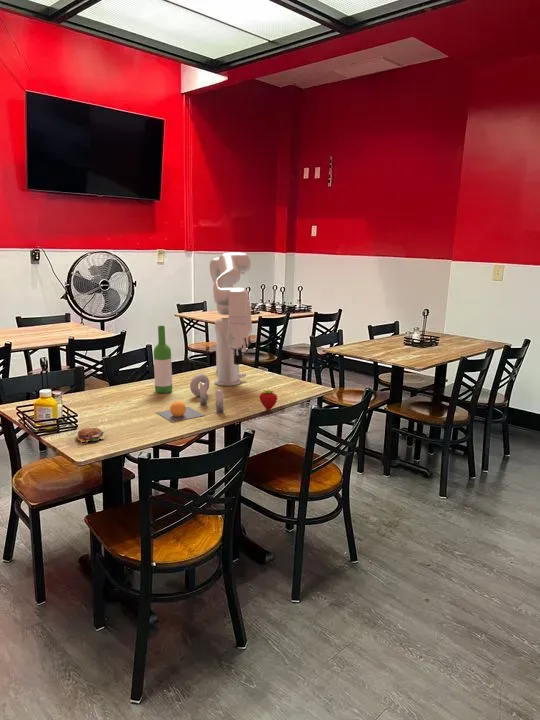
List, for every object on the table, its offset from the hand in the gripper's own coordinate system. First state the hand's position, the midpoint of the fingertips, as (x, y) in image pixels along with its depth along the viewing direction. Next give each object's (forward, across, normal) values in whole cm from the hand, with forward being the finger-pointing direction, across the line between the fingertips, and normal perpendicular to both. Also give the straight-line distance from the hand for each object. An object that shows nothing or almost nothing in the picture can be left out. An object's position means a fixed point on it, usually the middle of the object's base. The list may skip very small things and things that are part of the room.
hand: (238, 364), depth 222 cm
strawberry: (+17, +16, +4) cm, 24 cm away
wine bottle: (+17, -35, -18) cm, 43 cm away
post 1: (+17, -6, -13) cm, 22 cm away
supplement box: (+18, -52, +26) cm, 61 cm away
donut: (+17, -19, -8) cm, 27 cm away
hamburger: (+17, +9, -66) cm, 68 cm away
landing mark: (+17, 0, -27) cm, 32 cm away
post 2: (+17, +7, -13) cm, 22 cm away
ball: (+14, +2, -29) cm, 32 cm away
